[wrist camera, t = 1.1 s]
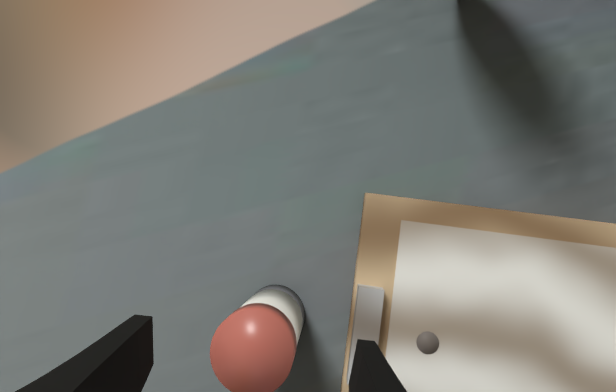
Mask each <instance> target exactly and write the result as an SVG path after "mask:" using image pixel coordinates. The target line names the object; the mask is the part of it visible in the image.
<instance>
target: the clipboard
mask: <svg viewBox="0 0 616 392" xmlns="http://www.w3.org/2000/svg"><path fill="white" fill-rule="evenodd" d="M357 339H362V340H371V341H375V342H376V343H377V345H378V346H379V348H380V350H381V351H382V353H383V355H384V357H385V358H386V360H387V361H388V363H389V365H390V366H391V368H392V369H393V371H394V373H395V374H396V376H397V377H398V379H399V380H400V382H401V383H402V385H403V386H404V388H405V389H406V391H407V392H616V224H613V223H605V222H597V221H589V220H581V219H573V218H565V217H556V216H548V215H540V214H532V213H524V212H516V211H508V210H500V209H492V208H484V207H476V206H468V205H460V204H452V203H444V202H436V201H428V200H420V199H412V198H404V197H396V196H388V195H380V194H371V193H365V195H364V203H363V211H362V220H361V228H360V236H359V244H358V252H357V261H356V269H355V277H354V285H353V293H352V301H351V310H350V318H349V326H348V334H347V342H346V351H345V359H344V367H343V375H342V383H341V392H349V385H348V384H349V379H350V374H351V369H352V364H353V359H354V354H355V349H356V344H357Z"/></svg>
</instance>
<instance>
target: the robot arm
mask: <svg viewBox="0 0 616 392" xmlns="http://www.w3.org/2000/svg"><path fill="white" fill-rule="evenodd" d="M153 364H154V363H153V324H152V316H142V315H134V316H132V317H131V318H129V319H128V320H126V321H125V322H123V323H122V324H120V325H119V326H118V327H116V328H115V329H113V330H112V331H111V332H109V333H108V334H106V335H105V336H103V337H102V338H101V339H99V340H98V341H96V342H95V343H93V344H92V345H90V346H89V347H87V348H86V349H84V350H83V351H82V352H80V353H79V354H77V355H75V356H74V357H72V358H71V359H69V360H68V361H66V362H64V363H63V364H61V365H60V366H58V367H56V368H55V369H53V370H52V371H50V372H49V373H47V374H45V375H44V376H42V377H40V378H39V379H37V380H35V381H33V382H32V383H30V384H28V385H26V386H25V387H23V388H21V389H19V390H17V391H15V392H141V391H142V389H143V387H144V384H145V382H146V380H147V378H148V375H149V373H150V371H151V368H152V366H153ZM348 385H349V392H407V391H406V389H405V388H404V386H403V385H402V383H401V382H400V380H399V379H398V377H397V376H396V374H395V373H394V371H393V369H392V368H391V366H390V365H389V363H388V361H387V360H386V358H385V357H384V355H383V353H382V351H381V350H380V348H379V346H378V345H377V343H376V342H375V341H371V340H362V339H357V344H356V349H355V354H354V359H353V364H352V369H351V374H350V379H349V384H348Z"/></svg>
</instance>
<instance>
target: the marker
mask: <svg viewBox="0 0 616 392" xmlns="http://www.w3.org/2000/svg"><path fill="white" fill-rule="evenodd" d="M304 319H305V311H304V306H303V303H302V301H301V299H300V298H299V296H298V295H297V294H296V293H295V292H294V291H292V290H291V289H289V288H287V287H285V286H281V285H270V286H266V287H264V288H262V289H260V290H259V291H257V292H256V293H255V294H254V295H253V296H252V297H251V298H250V299H249V300H248V301H247V302H245V303H244V304H243V305H242V306H241V307H240V308H238V309H237V310H235V311H234V312H233V313H232V314H231V315H230V316H229V317H228V318H227V319H225V320H224V321H223V322H222V323H221V324H220V326H219V327H218V328H217V330H216V332H215V334H214V336H213V339H212V342H211V347H210V359H211V364H212V368H213V370H214V372H215V375H216V376H217V378H218V379H219V381H220V382H221V383H222V384H223V385H224V386H225V387H226V388H227V389H229V390H230V391H232V392H273V391H274V390H276V389H277V388H278V387H280V386H281V385H282V383H283V382H284V381H285V380H286V378H287V377H288V375H289V373H290V370H291V367H292V364H293V360H294V357H295V353H296V347H297V344H298V340H299V337H300V334H301V330H302V327H303V324H304Z"/></svg>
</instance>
